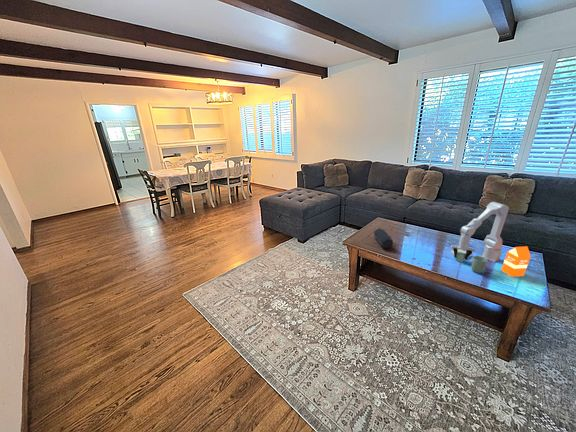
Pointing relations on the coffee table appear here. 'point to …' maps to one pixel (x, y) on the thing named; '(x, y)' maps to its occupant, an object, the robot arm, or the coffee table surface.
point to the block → (460, 256)
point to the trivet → (458, 251)
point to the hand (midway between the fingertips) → (460, 258)
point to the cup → (478, 264)
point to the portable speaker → (383, 238)
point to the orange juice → (516, 261)
